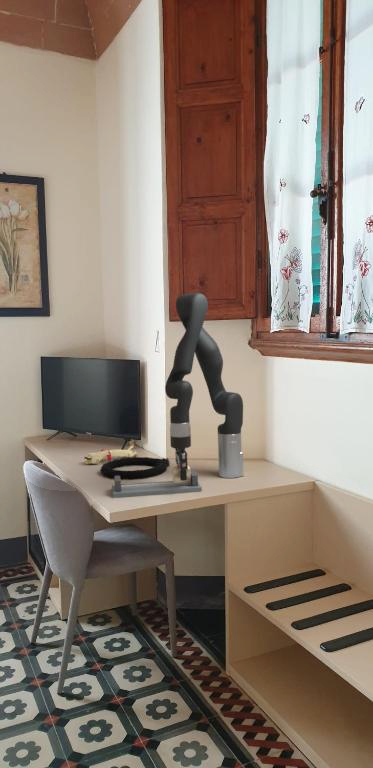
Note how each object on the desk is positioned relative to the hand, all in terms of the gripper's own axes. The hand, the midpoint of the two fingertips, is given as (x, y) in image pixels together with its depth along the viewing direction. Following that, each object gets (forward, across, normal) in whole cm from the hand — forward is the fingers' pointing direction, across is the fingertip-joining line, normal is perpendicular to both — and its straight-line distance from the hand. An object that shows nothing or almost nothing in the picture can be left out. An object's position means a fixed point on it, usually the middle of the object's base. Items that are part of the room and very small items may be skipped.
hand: (182, 477), depth 241 cm
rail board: (+4, 0, +10) cm, 11 cm away
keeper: (+1, 0, 0) cm, 1 cm away
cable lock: (+5, +32, +15) cm, 36 cm away
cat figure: (+5, +55, +25) cm, 60 cm away
